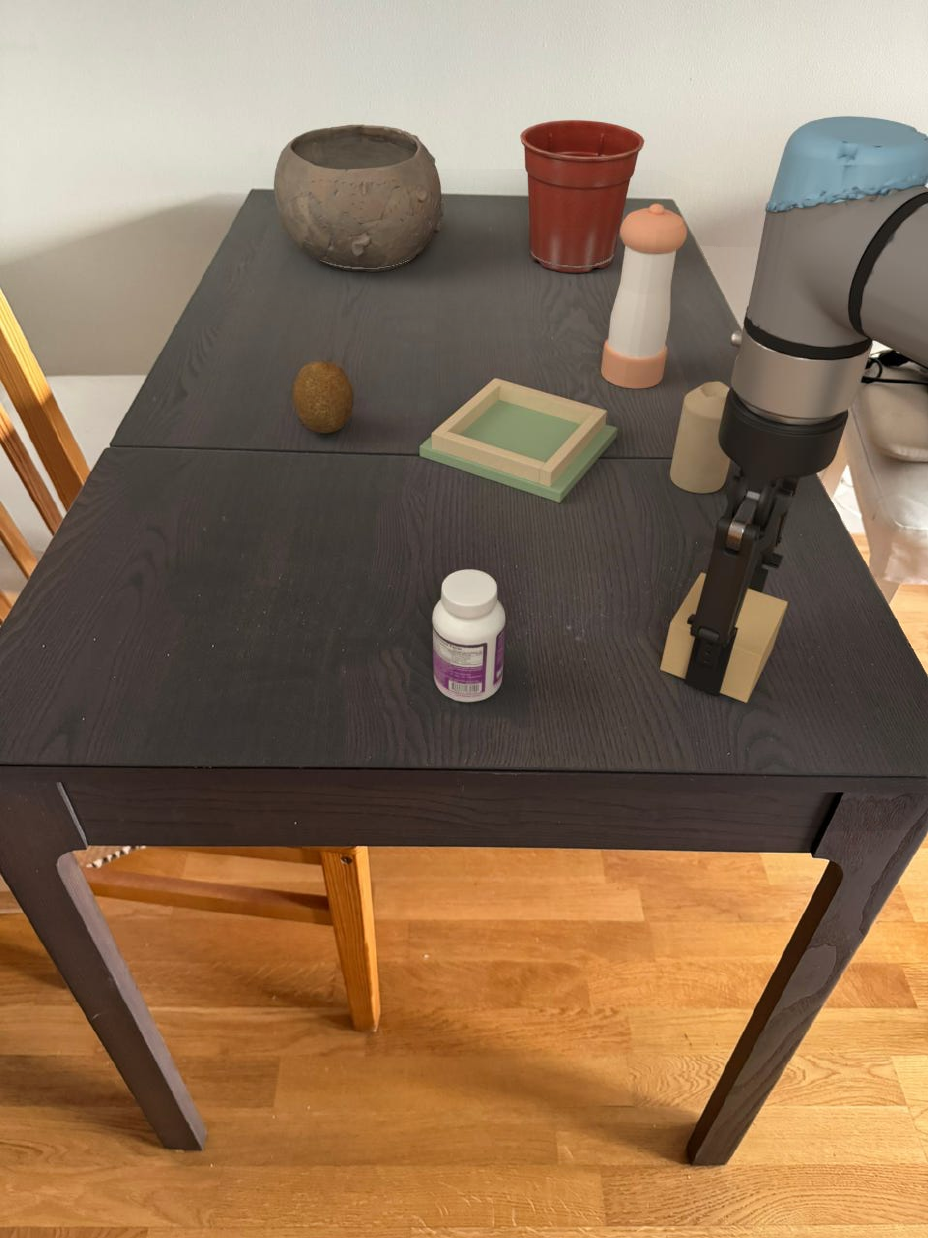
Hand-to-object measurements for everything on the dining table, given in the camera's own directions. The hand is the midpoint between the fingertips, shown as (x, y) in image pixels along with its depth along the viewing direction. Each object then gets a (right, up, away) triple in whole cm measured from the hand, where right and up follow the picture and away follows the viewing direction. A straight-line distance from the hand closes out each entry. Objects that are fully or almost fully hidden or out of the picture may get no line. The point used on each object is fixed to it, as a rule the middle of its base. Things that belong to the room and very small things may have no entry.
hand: (718, 656), depth 74 cm
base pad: (-14, +21, +23) cm, 35 cm away
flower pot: (-5, +55, +61) cm, 83 cm away
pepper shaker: (0, +32, +36) cm, 48 cm away
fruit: (-35, +23, +25) cm, 49 cm away
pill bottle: (-20, -2, -1) cm, 20 cm away
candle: (+3, +17, +20) cm, 26 cm away
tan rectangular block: (0, 0, 0) cm, 0 cm away
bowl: (-35, +56, +61) cm, 90 cm away
